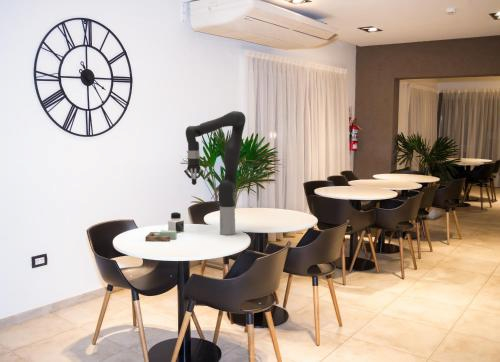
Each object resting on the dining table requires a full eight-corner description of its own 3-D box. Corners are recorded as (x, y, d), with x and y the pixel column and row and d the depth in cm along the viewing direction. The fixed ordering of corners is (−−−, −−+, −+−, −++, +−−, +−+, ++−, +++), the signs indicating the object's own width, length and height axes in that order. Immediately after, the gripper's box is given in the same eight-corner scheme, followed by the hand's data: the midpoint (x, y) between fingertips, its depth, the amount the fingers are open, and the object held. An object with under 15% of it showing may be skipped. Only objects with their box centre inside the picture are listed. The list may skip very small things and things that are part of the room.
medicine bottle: (175, 233, 294) (175, 214, 292) (168, 231, 298) (167, 212, 297) (184, 231, 299) (183, 212, 298) (176, 229, 304) (175, 211, 302)
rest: (173, 236, 285) (173, 232, 285) (169, 241, 272) (169, 237, 272) (150, 236, 286) (150, 232, 285) (145, 241, 273) (145, 237, 272)
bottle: (176, 230, 281) (153, 230, 281) (175, 232, 276) (152, 232, 276) (176, 238, 281) (154, 237, 282) (175, 239, 276) (152, 239, 277)
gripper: (204, 157, 303) (205, 184, 305) (184, 157, 303) (184, 184, 305) (203, 158, 295) (203, 185, 297) (182, 158, 296) (182, 185, 298)
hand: (194, 184), depth 301 cm, fingers closed
